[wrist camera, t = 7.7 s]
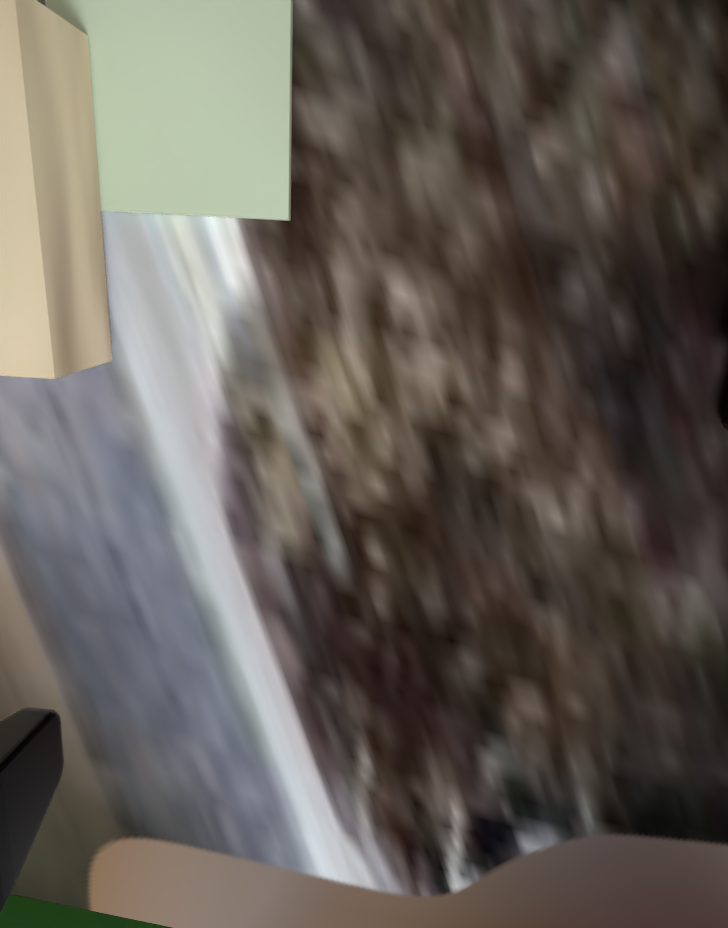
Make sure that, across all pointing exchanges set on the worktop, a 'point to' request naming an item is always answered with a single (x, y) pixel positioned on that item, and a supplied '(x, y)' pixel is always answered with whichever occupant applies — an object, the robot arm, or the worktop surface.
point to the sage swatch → (190, 104)
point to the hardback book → (59, 916)
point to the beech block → (49, 200)
